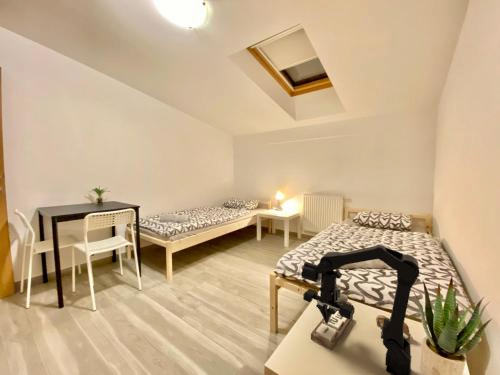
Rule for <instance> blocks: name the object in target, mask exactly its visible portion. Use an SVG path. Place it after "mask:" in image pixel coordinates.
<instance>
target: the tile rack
mask: <svg viewBox="0 0 500 375" xmlns="http://www.w3.org/2000/svg"><path fill="white" fill-rule="evenodd" d="M337 311H339V310H337ZM353 320H354V314H353V315H352V317H351V319H347V320H346V321H345V322H344V321H343V325H342V326H341V328H340V329H339V331H337V333H336V335H335V337H334V338H333V340H332V341H331V342H330V341H328V340H326V339H324V338H323V337H321V336H319V335H317V334H316V330H317V329H318V328H319V327H320V325H321V324H322V323H323V324H324V318H323V317H322V319H321V320H320V322H319V323H318V324H317V325H316V326H315V327H314V329H313V330H312V331H311V333H310V340H312V341H313V342H315V343H317V344H318V345H320V346H322V347H324V348H326V349H328V350H329V351H331V352H335V349H336V348H337V346H338V345H339V342H340V341H341V339H342V338H343V336H344V334H345V333H346V331H347V329H348V328H349V326H350V325H351V323H352V322H353Z"/></svg>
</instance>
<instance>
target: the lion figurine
mask: <svg viewBox="0 0 500 375" xmlns="http://www.w3.org/2000/svg"><path fill="white" fill-rule="evenodd" d="M384 318H385V319H387V320H389V319H390V317H387V316H385V315H382V314H378V315H377V316H376V318H375V322H376V326H377V327H378V328H380V330H381V331H380V333H381V332H382V327H383V323H384ZM409 328H410V327H409V325H407V323H406V322H405V321H404V325H403V335H406V336H407V337H405V339H406V340H407V341H408V342H409V341H411V336H412V334H411V333H410V329H409Z"/></svg>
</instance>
